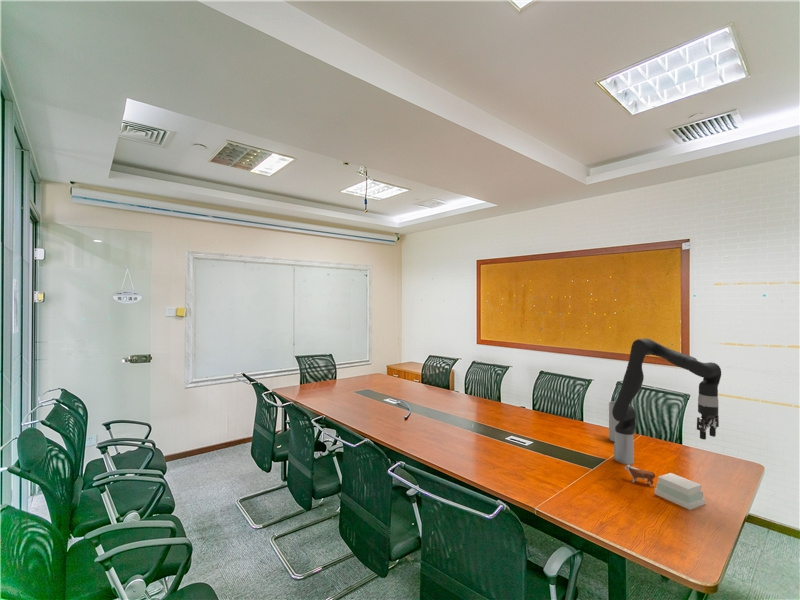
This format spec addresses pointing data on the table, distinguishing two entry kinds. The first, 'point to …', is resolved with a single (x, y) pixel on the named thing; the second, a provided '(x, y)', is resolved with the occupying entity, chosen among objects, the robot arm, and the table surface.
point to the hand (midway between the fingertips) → (707, 437)
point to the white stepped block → (680, 491)
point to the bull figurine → (640, 474)
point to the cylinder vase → (612, 422)
